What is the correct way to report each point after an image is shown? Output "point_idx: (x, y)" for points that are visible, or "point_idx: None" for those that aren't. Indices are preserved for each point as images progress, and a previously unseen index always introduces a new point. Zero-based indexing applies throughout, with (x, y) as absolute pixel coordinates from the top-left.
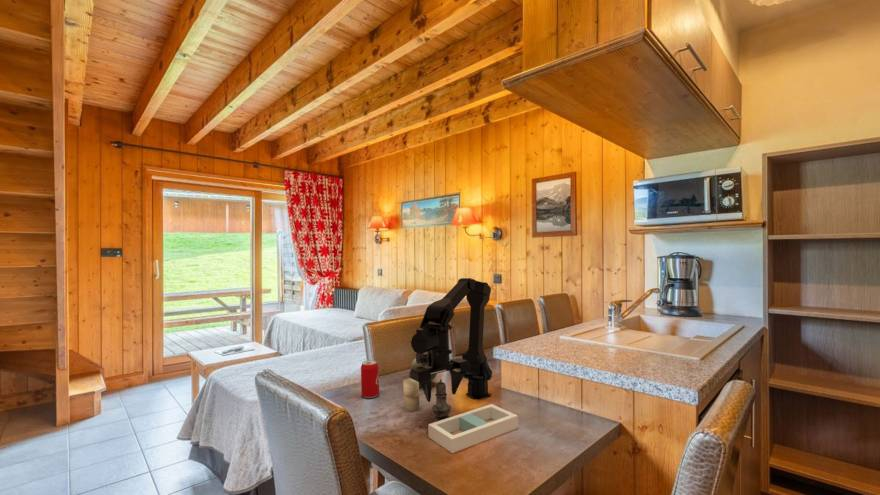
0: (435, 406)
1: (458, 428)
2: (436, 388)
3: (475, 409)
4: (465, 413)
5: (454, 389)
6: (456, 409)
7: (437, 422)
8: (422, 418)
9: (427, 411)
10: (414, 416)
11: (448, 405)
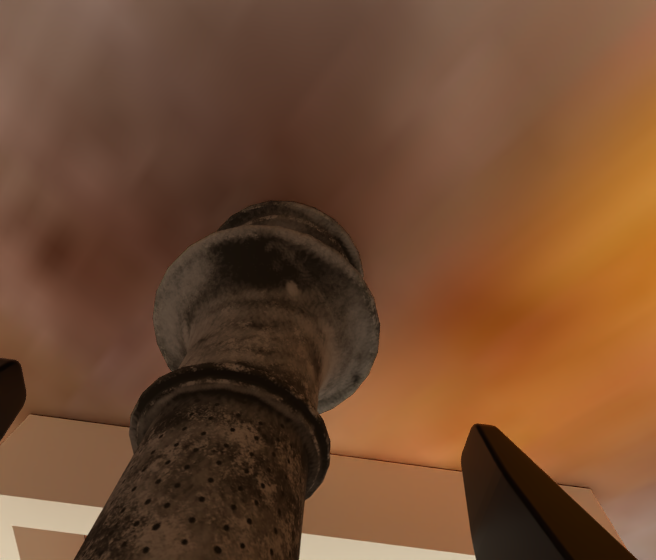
0: (184, 323)
1: None
2: (86, 538)
3: (453, 556)
4: (332, 548)
5: (482, 545)
6: (545, 222)
7: (41, 511)
8: (148, 130)
9: (299, 12)
10: (101, 13)
11: (333, 384)
